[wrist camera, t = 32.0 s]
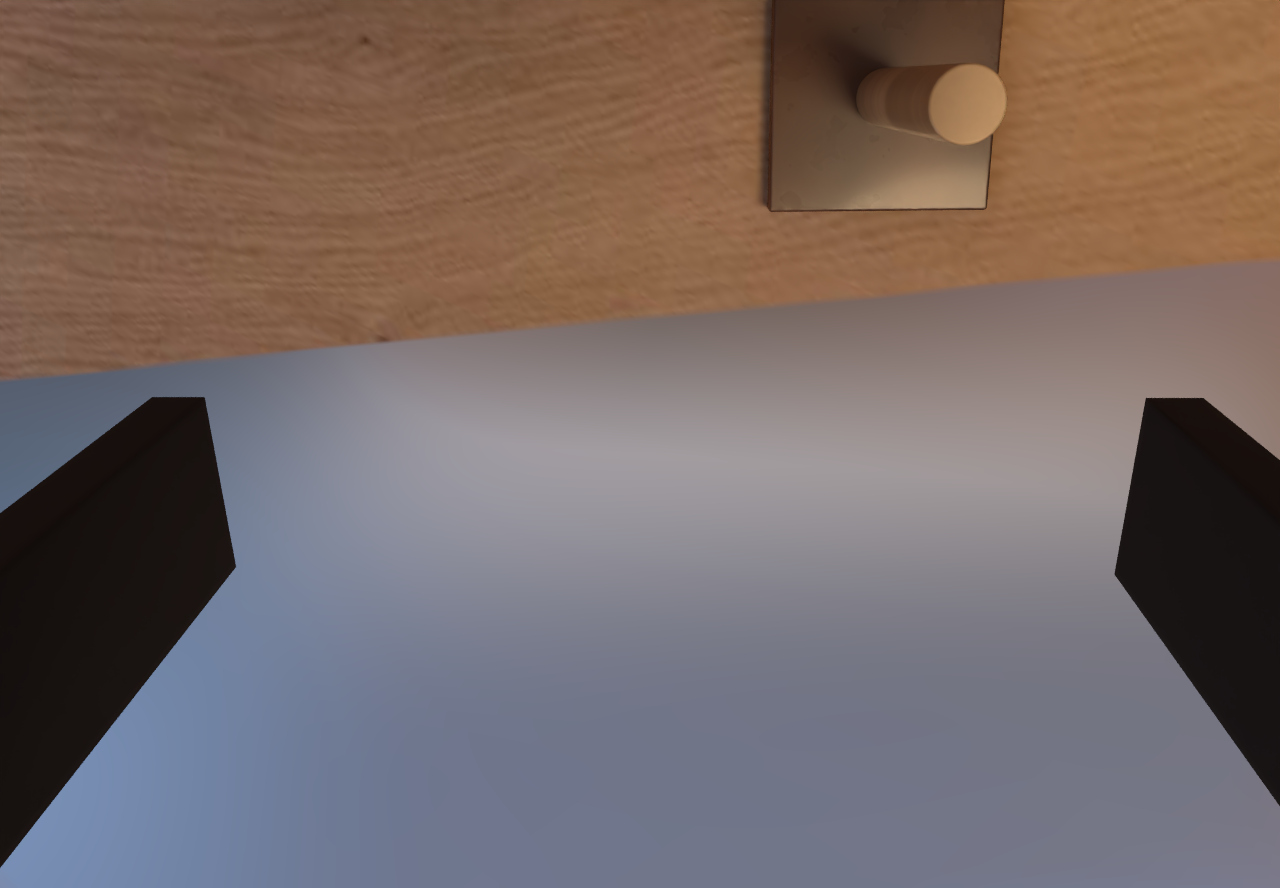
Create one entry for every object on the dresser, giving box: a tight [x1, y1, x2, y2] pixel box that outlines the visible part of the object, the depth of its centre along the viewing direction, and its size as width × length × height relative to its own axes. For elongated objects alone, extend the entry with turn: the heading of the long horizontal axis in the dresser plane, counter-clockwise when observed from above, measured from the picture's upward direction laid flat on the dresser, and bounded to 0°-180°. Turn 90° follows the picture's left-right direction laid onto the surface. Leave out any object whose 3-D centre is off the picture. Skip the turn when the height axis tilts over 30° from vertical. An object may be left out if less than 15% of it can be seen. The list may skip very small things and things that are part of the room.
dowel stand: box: [767, 0, 1007, 212], centre depth 33 cm, size 8×8×13 cm
